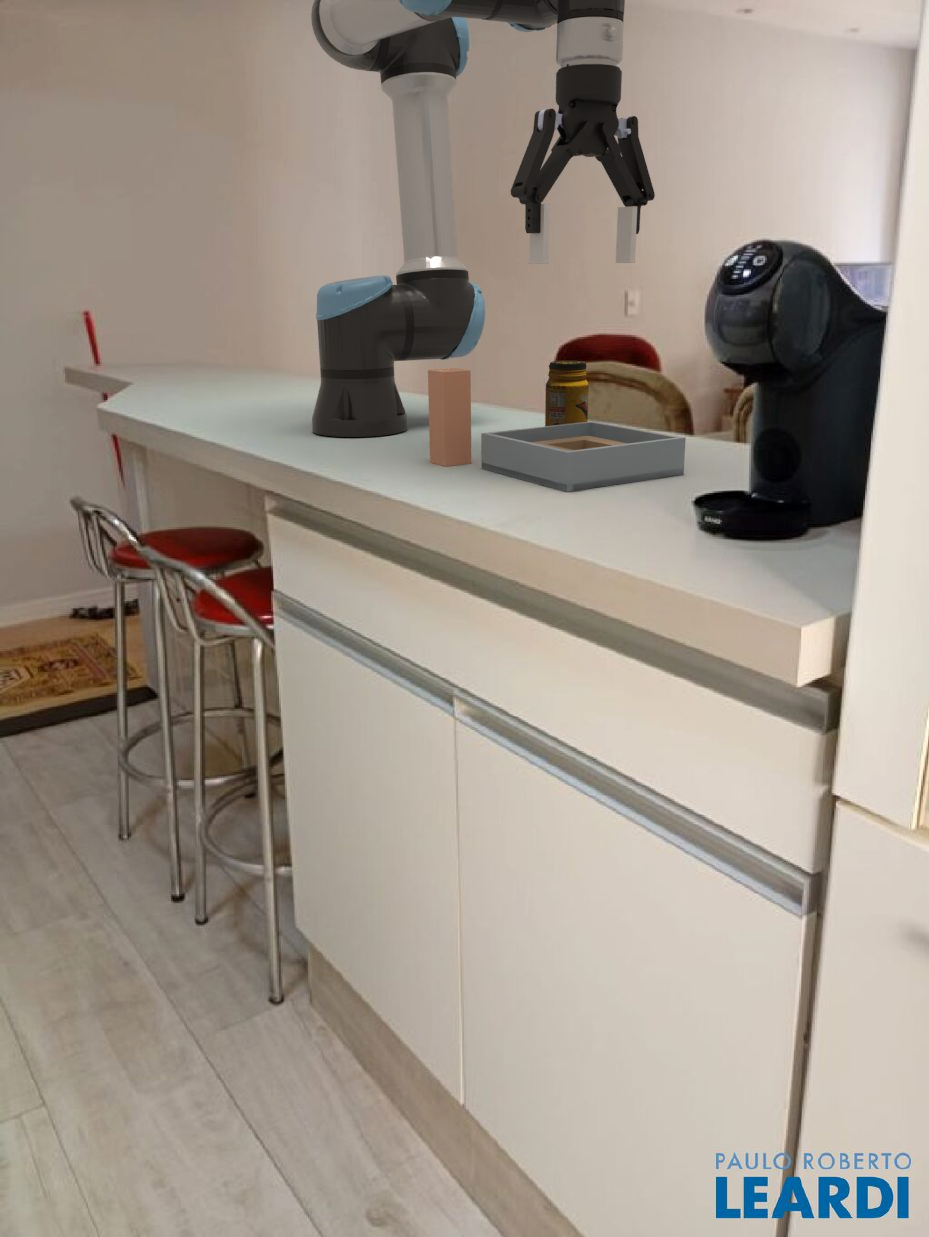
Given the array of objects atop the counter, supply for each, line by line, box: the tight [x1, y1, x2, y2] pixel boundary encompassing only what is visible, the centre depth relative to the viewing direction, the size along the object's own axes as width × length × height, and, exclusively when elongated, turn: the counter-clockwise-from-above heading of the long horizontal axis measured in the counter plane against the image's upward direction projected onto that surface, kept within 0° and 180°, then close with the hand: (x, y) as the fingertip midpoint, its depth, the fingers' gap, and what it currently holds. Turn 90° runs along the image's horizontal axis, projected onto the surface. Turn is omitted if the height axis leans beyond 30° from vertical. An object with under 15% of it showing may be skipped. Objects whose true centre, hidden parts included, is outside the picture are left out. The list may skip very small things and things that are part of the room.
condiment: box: [544, 360, 590, 426], centre depth 142 cm, size 7×8×12 cm
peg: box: [427, 367, 472, 468], centre depth 132 cm, size 4×4×12 cm
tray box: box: [480, 420, 687, 493], centre depth 126 cm, size 18×18×4 cm
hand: (583, 263), depth 122 cm, fingers open, 13 cm apart
